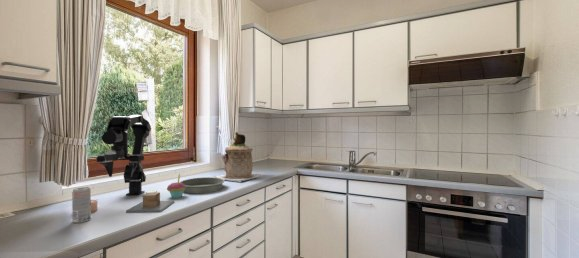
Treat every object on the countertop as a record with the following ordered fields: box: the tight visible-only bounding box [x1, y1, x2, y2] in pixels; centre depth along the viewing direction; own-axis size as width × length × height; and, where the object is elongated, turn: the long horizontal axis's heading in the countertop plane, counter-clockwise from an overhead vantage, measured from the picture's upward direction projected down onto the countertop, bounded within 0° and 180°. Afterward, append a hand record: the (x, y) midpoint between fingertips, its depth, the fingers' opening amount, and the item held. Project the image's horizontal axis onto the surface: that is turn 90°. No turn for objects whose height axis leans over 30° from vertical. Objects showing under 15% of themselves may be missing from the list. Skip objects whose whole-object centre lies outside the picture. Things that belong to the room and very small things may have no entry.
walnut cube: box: [142, 191, 161, 207], centre depth 114 cm, size 5×5×5 cm
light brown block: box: [91, 199, 98, 214], centre depth 108 cm, size 7×7×4 cm
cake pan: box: [180, 176, 225, 194], centre depth 148 cm, size 25×25×4 cm
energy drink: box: [71, 186, 92, 224], centre depth 97 cm, size 5×5×12 cm
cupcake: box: [166, 173, 186, 199], centre depth 131 cm, size 9×8×12 cm
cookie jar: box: [213, 131, 263, 183], centre depth 179 cm, size 25×25×32 cm
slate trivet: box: [125, 200, 175, 213], centre depth 114 cm, size 14×14×1 cm
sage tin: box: [145, 189, 158, 194], centre depth 126 cm, size 4×4×4 cm
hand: (120, 176), depth 121 cm, fingers open, 9 cm apart
